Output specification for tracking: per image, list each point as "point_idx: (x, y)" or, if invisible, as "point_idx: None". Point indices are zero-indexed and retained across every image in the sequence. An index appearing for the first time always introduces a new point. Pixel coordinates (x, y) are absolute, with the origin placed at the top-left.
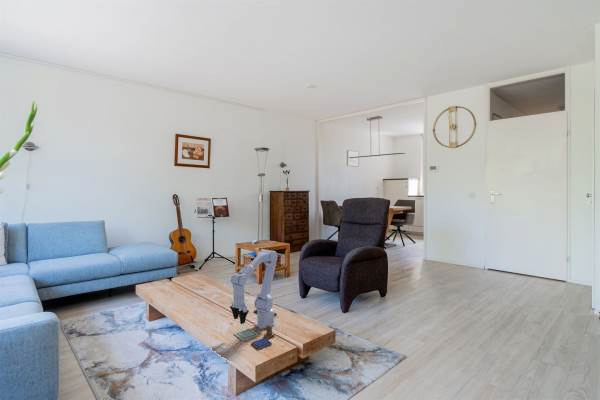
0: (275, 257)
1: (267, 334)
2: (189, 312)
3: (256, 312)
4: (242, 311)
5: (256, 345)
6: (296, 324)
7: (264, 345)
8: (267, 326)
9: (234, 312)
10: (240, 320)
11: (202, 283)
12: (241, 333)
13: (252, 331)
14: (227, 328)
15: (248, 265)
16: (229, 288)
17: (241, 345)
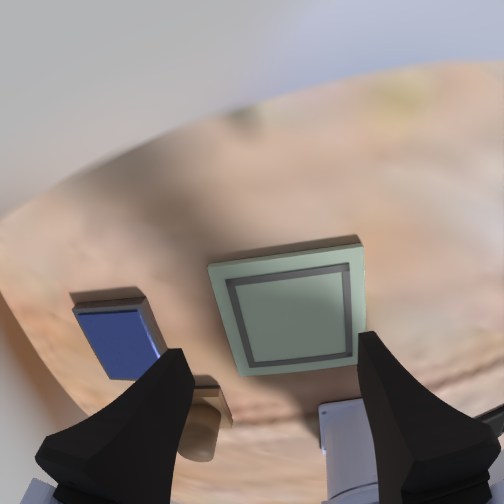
0: None
1: (195, 406)
2: None
3: (494, 416)
4: (73, 491)
5: (95, 311)
6: (272, 488)
7: (89, 343)
8: (188, 446)
9: (381, 409)
10: (143, 376)
11: None
12: (326, 295)
13: (311, 363)
14: (480, 232)
15: None
16: None
17: (151, 235)
